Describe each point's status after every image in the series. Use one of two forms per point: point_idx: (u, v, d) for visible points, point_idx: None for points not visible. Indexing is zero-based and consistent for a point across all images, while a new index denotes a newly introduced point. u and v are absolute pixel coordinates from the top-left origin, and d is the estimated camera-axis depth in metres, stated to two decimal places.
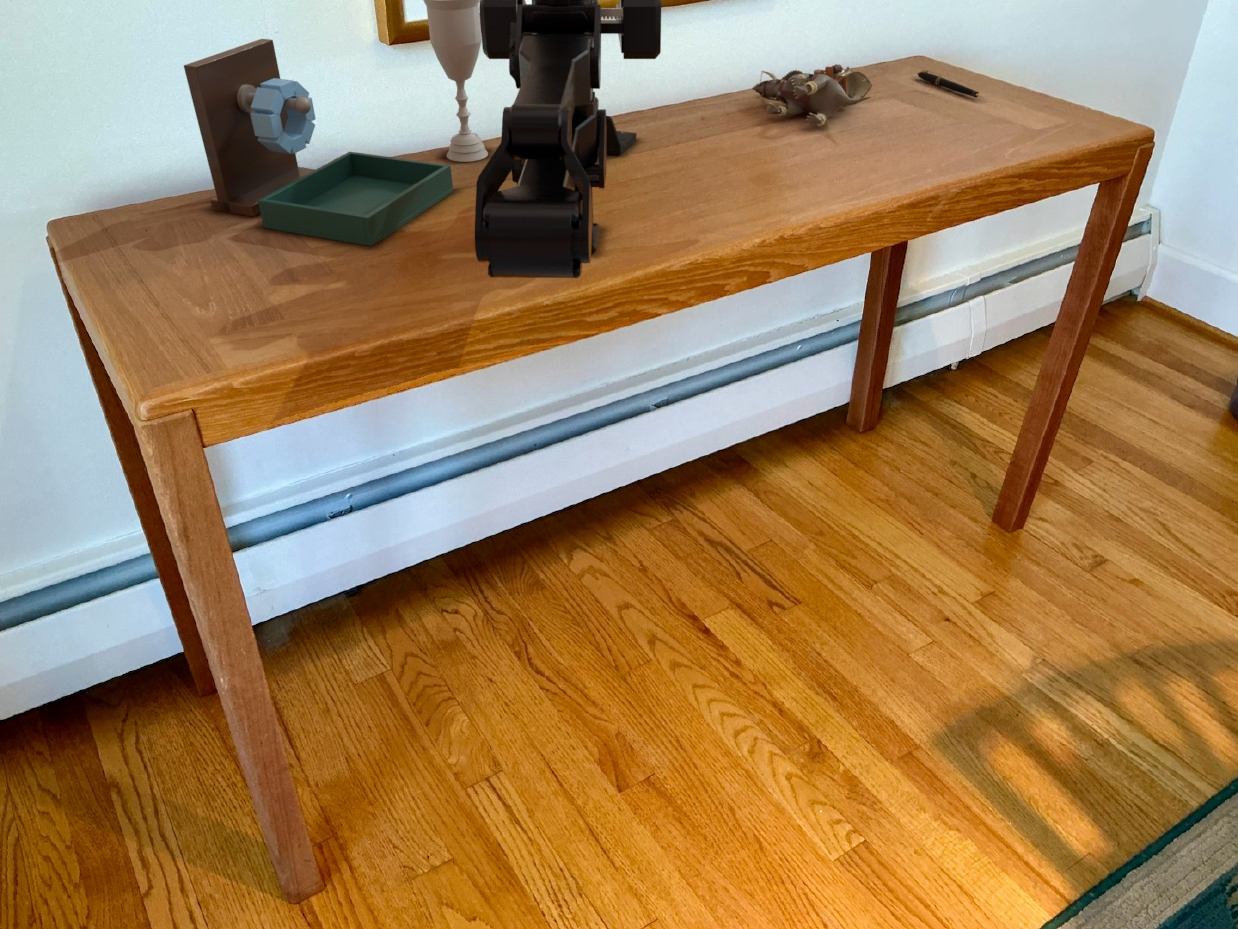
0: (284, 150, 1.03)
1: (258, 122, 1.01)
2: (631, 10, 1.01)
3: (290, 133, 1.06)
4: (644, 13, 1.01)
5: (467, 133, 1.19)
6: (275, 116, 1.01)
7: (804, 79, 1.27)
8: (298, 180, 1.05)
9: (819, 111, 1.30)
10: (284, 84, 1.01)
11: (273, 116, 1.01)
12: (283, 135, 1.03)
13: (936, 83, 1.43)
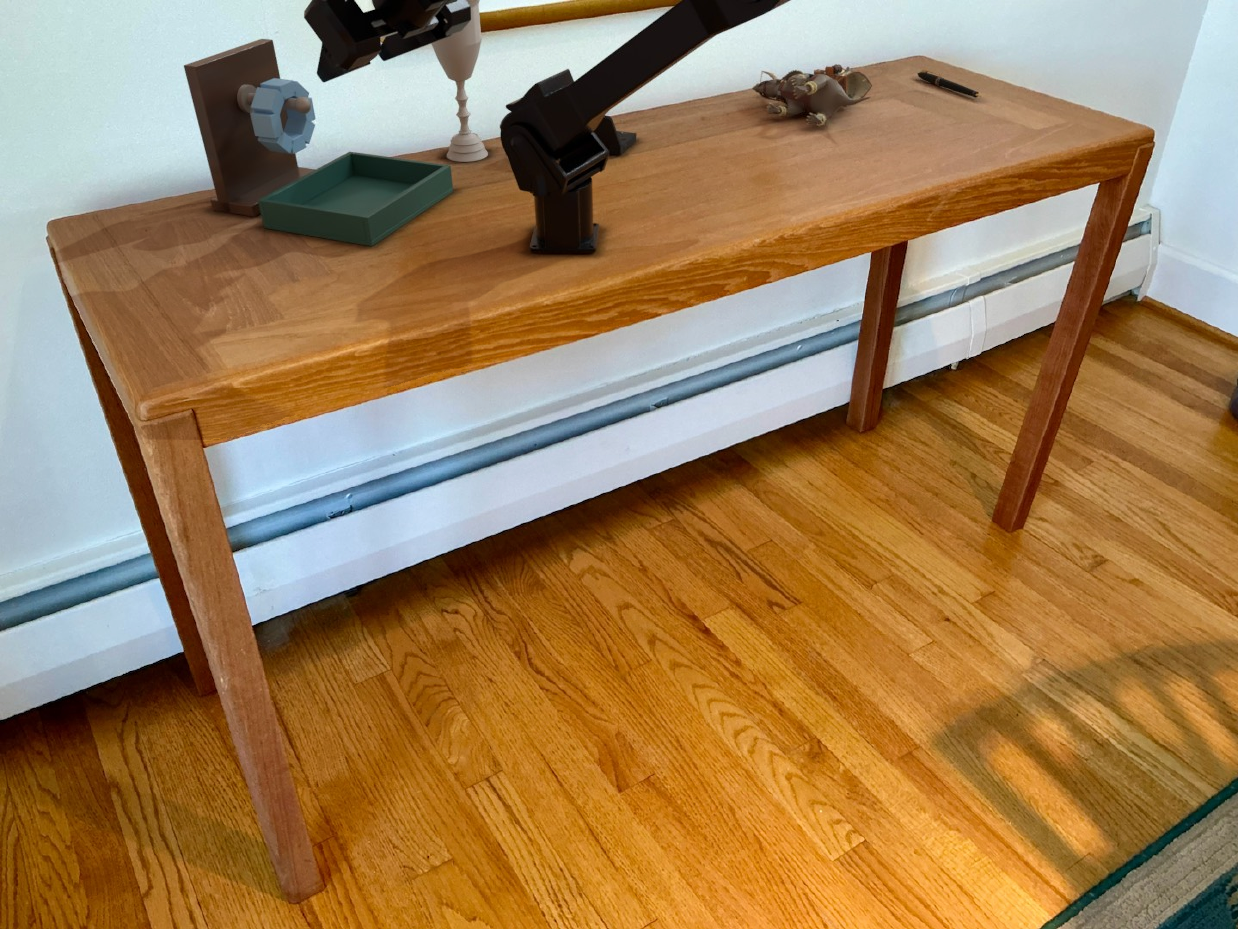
0: (284, 150, 1.03)
1: (258, 122, 1.01)
2: None
3: (290, 133, 1.06)
4: None
5: (467, 133, 1.19)
6: (275, 116, 1.01)
7: (804, 79, 1.27)
8: (298, 180, 1.05)
9: (819, 111, 1.30)
10: (284, 84, 1.01)
11: (273, 116, 1.01)
12: (283, 135, 1.03)
13: (936, 83, 1.43)
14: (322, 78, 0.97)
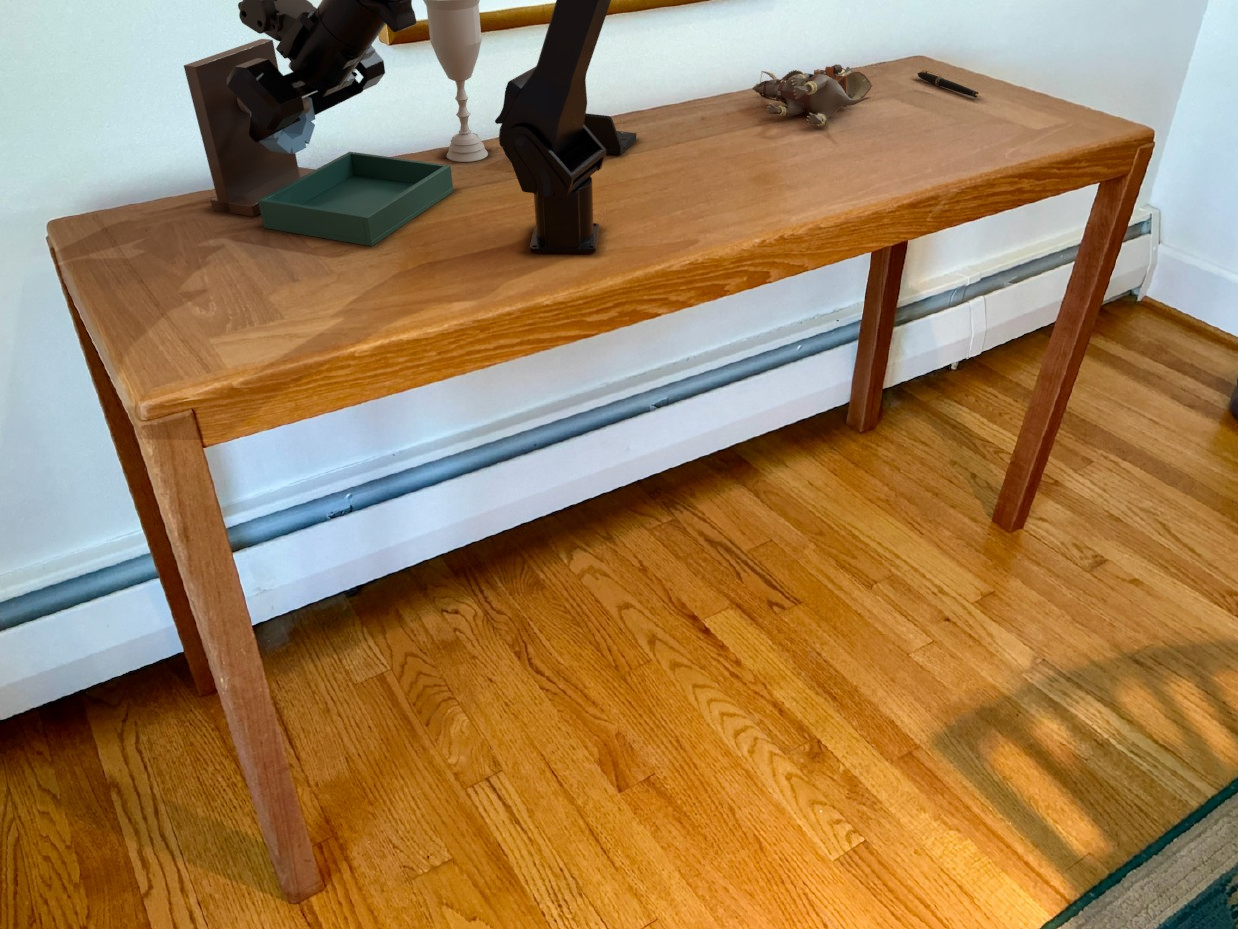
0: (284, 150, 1.03)
1: None
2: None
3: (290, 133, 1.06)
4: None
5: (467, 133, 1.19)
6: None
7: (804, 79, 1.27)
8: (298, 180, 1.05)
9: (819, 111, 1.30)
10: None
11: None
12: (283, 135, 1.03)
13: (936, 83, 1.43)
14: (254, 138, 1.02)
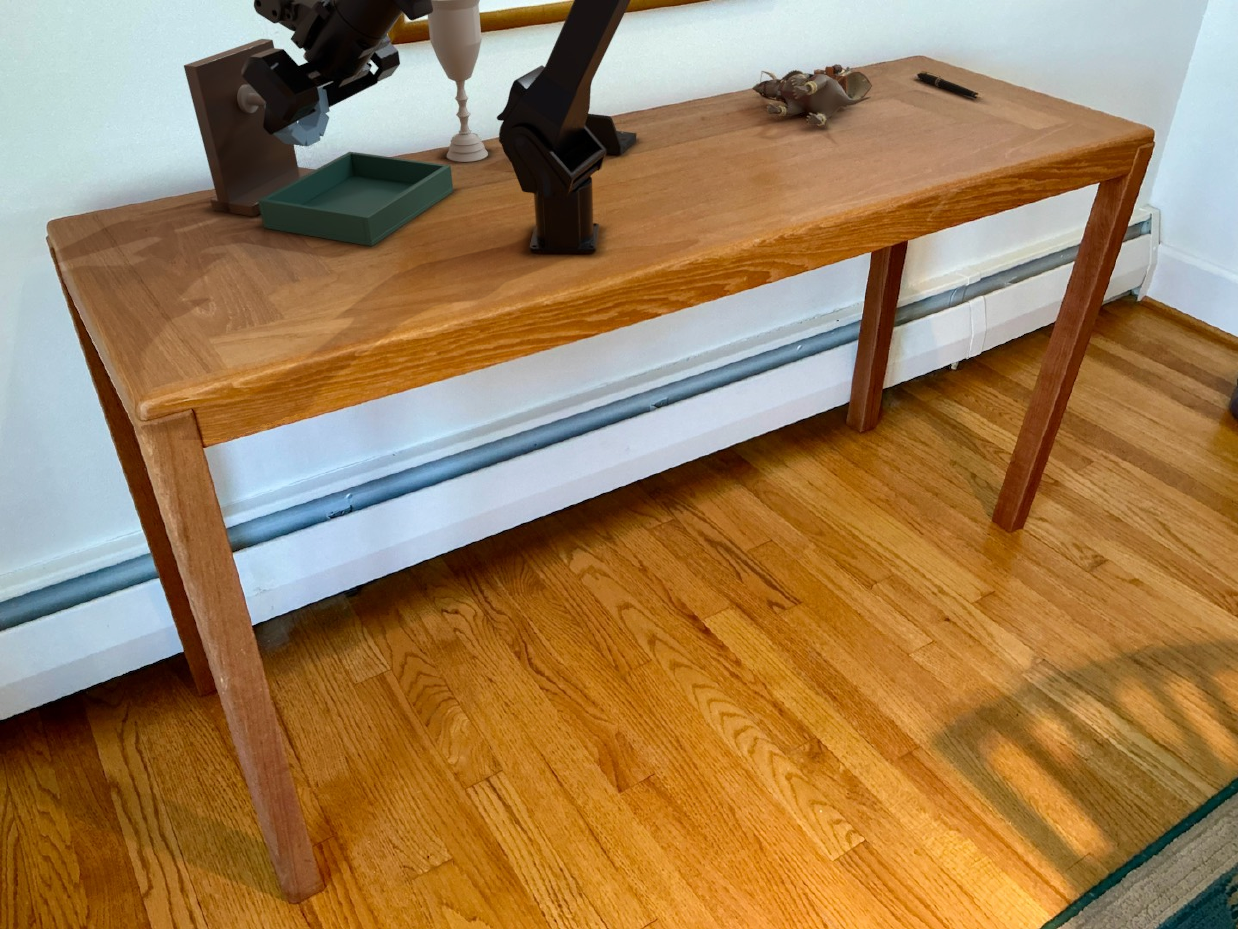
0: (298, 142, 1.02)
1: None
2: None
3: (304, 125, 1.04)
4: None
5: (467, 133, 1.19)
6: None
7: (804, 79, 1.27)
8: (298, 180, 1.05)
9: (819, 111, 1.30)
10: None
11: None
12: (298, 127, 1.01)
13: (935, 84, 1.43)
14: (269, 131, 1.01)
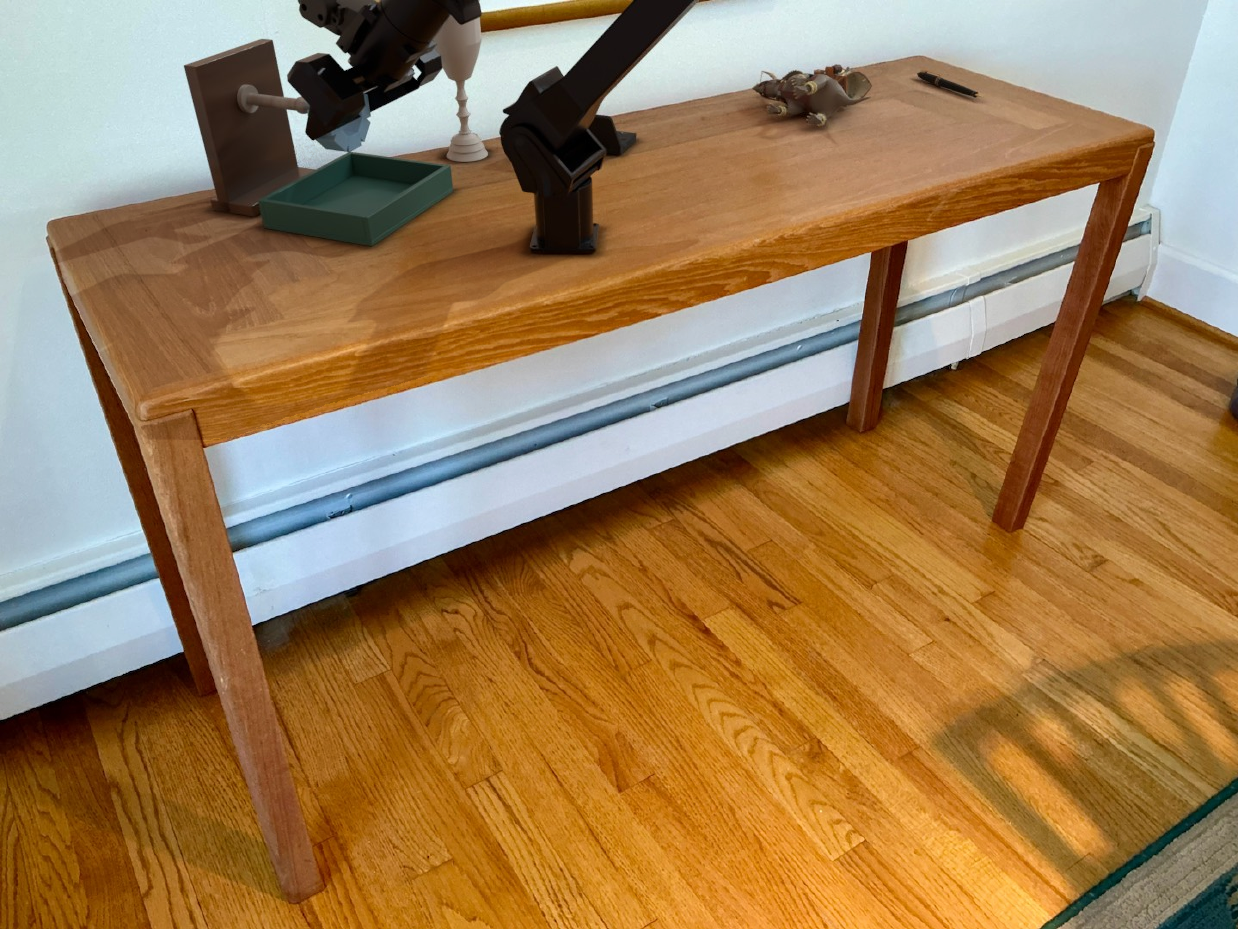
0: (340, 148, 1.01)
1: None
2: None
3: (345, 131, 1.03)
4: None
5: (467, 133, 1.19)
6: None
7: (804, 79, 1.27)
8: (298, 180, 1.05)
9: (819, 111, 1.30)
10: None
11: None
12: (340, 133, 1.00)
13: (935, 83, 1.43)
14: (311, 136, 0.99)
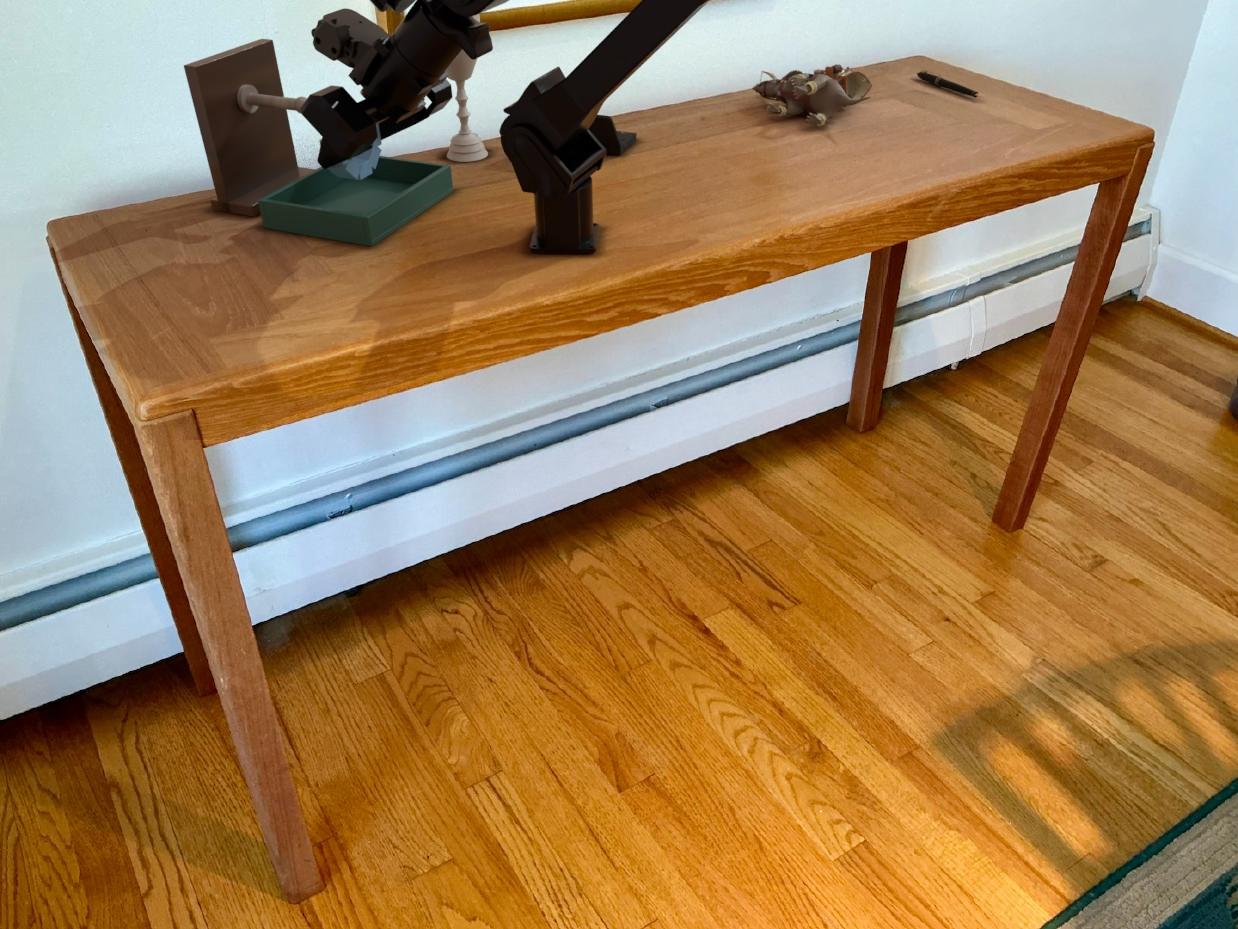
0: (352, 176, 1.02)
1: None
2: None
3: (357, 159, 1.04)
4: None
5: (467, 133, 1.19)
6: None
7: (804, 79, 1.27)
8: (298, 180, 1.05)
9: (819, 111, 1.30)
10: None
11: None
12: (352, 161, 1.01)
13: (935, 83, 1.43)
14: (323, 165, 1.00)
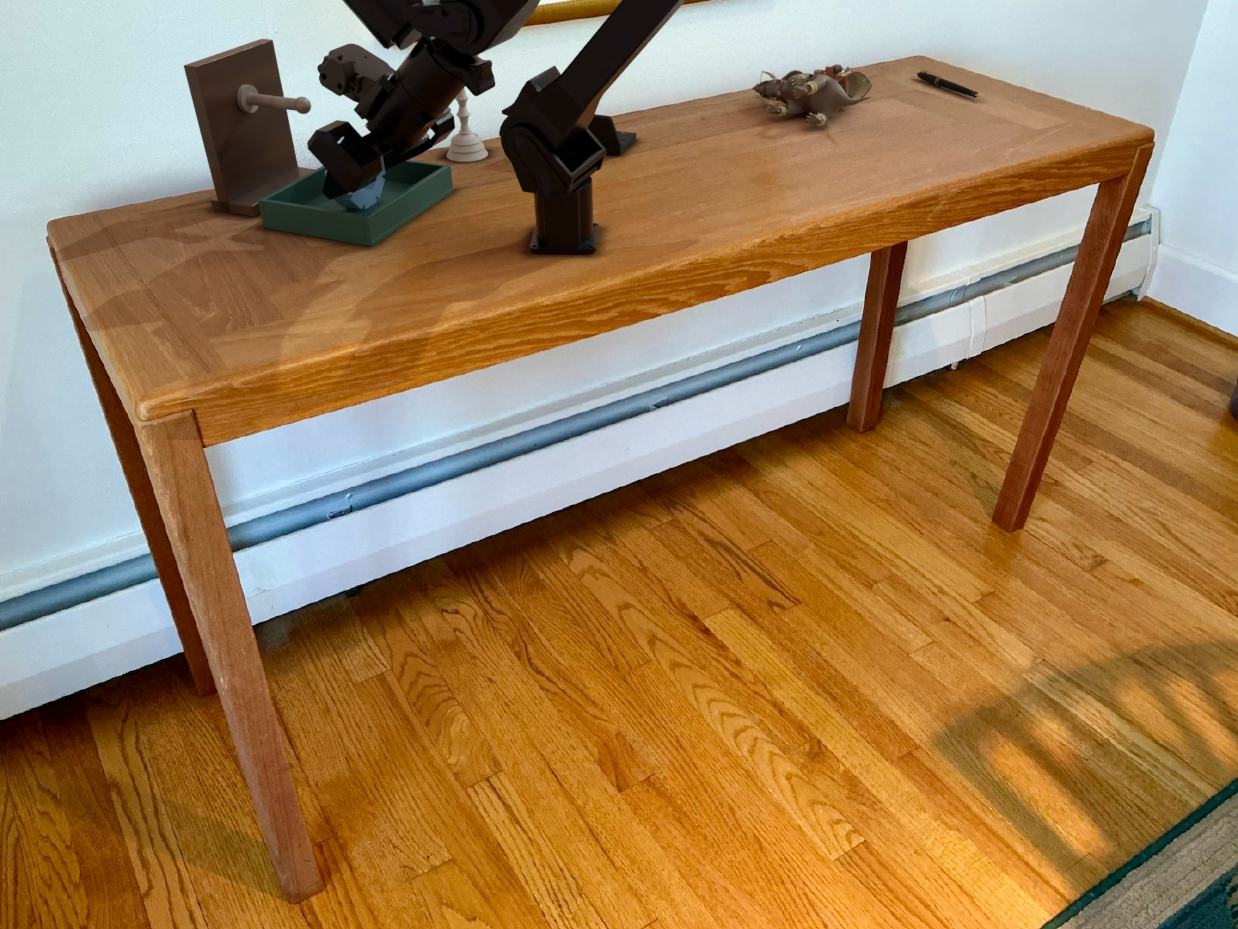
0: (356, 206, 1.04)
1: None
2: None
3: None
4: None
5: (467, 133, 1.19)
6: None
7: (804, 79, 1.27)
8: (298, 180, 1.05)
9: (819, 111, 1.30)
10: None
11: None
12: (356, 192, 1.03)
13: (935, 83, 1.43)
14: (328, 196, 1.02)
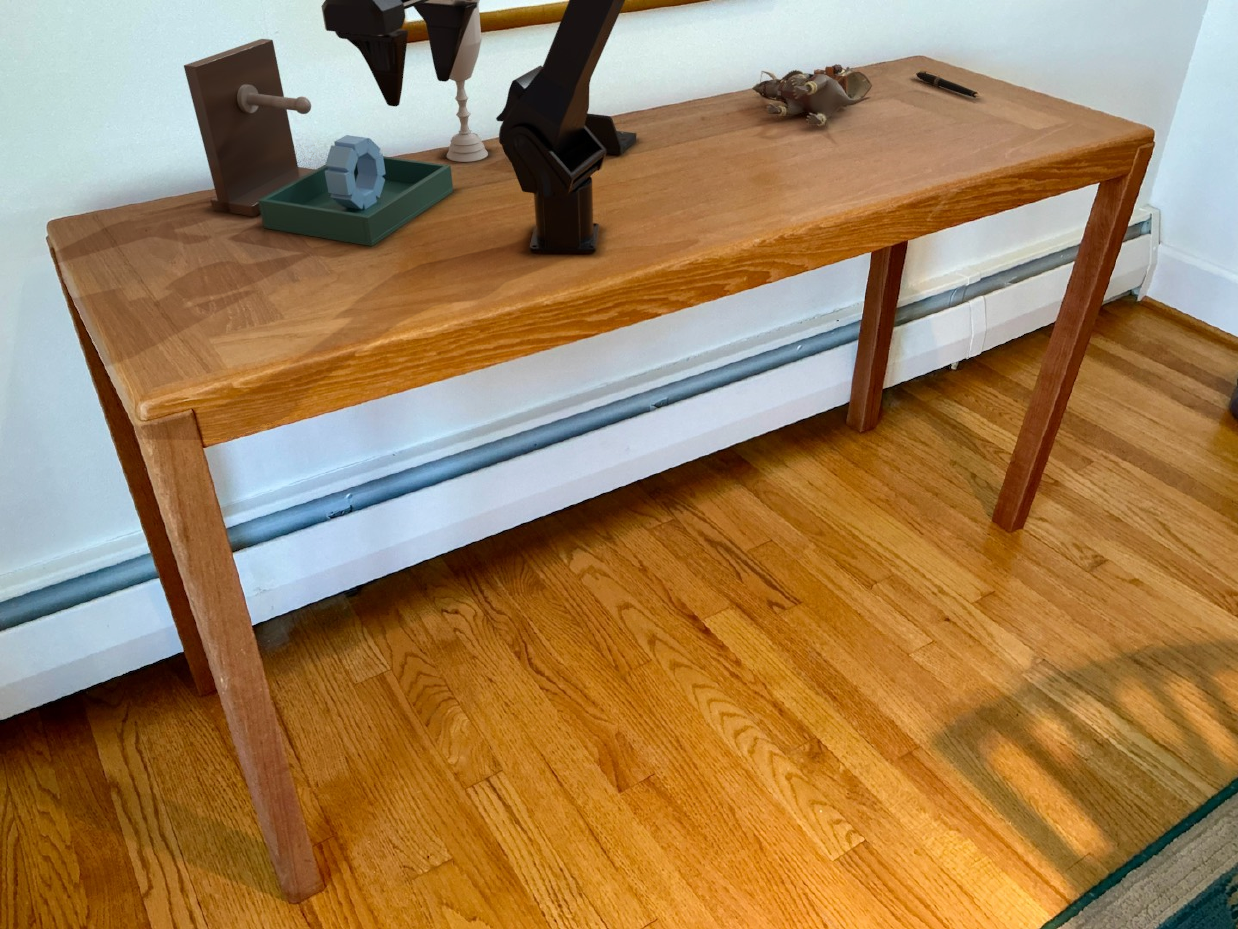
0: (356, 206, 1.04)
1: (332, 180, 1.01)
2: None
3: (361, 188, 1.06)
4: None
5: (467, 133, 1.19)
6: (349, 174, 1.01)
7: (804, 79, 1.27)
8: (298, 180, 1.05)
9: (819, 111, 1.30)
10: (358, 142, 1.02)
11: (347, 174, 1.01)
12: (356, 192, 1.03)
13: (935, 83, 1.43)
14: (393, 102, 0.92)
